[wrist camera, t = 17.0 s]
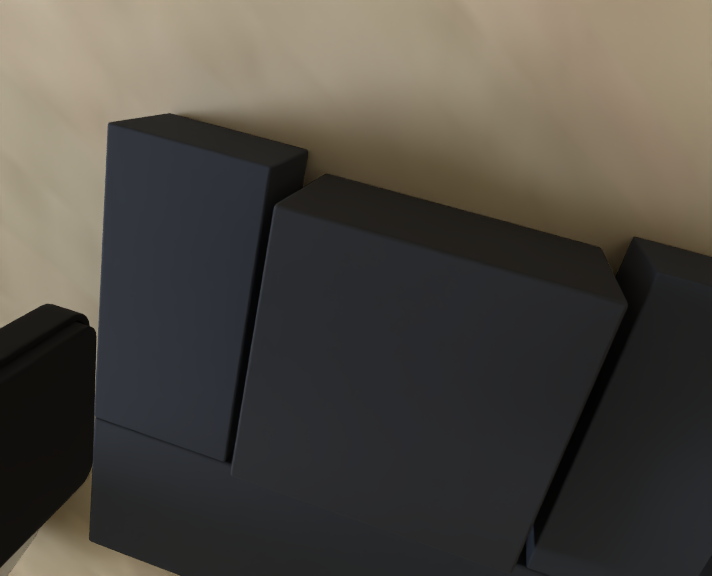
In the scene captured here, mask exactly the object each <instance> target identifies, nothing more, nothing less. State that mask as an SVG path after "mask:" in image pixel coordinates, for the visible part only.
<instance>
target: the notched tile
mask: <svg viewBox="0 0 712 576" xmlns="http://www.w3.org/2000/svg"><path fill="white" fill-rule="evenodd" d="M307 157H308V150H306V149H302V148H299V147H295V146H291V145H287V144H284V143H280V142H276V141H272V140H269V139H265V138H261V137H257V136H253V135H250V134H246V133H242V132H238V131H235V130H231V129H227V128H223V127H220V126H216V125H212V124H208V123H204V122H201V121H197V120H193V119H189V118H186V117H182V116H178V115H174V114H171V113H168V114H162V115H155V116H148V117H142V118H135V119H129V120H122V121H116V122H109V124H108V135H107V157H106V178H105V200H104V221H103V242H102V264H101V285H100V307H99V328H98V350H97V371H96V392H95V414H94V415H95V417H96V418H95V426H94V447H93V469H92V490H91V511H90V532H89V540H90V541H91V542H94V543H97V544H99V545H102V546H104V547H107V548H110V549H112V550H115V551H117V552H120V553H123V554H125V555H128V556H131V557H133V558H136V559H138V560H141V561H144V562H146V563H149V564H151V565H154V566H157V567H159V568H162V569H165V570H167V571H170V572H172V573H175V574H178V575H180V576H699V574H700V573H701V571H702V570H703V568H704V567H705V565H706V563H707V562H708V560H709V559H710V557H711V556H712V257H709V256H706V255H702V254H698V253H694V252H691V251H687V250H683V249H679V248H676V247H672V246H668V245H664V244H661V243H657V242H653V241H649V240H645V239H642V238H638V237H633V238H632V241H631V243H630V245H629V248H628V250H627V253H626V255H625V257H624V260H623V262H622V265H621V267H620V269H619V272H618V274H617V277H616V280H617V282H618V284H619V286H620V288H621V290H622V292H623V294H624V297H625V299H626V301H627V303H628V308H627V310H626V312H625V314H624V317H623V319H622V321H621V324H620V326H619V328H618V331H617V333H616V335H615V337H614V340H613V342H612V344H611V347H610V349H609V351H608V354H607V356H606V358H605V360H604V363H603V365H602V367H601V370H600V372H599V374H598V376H597V379H596V381H595V383H594V386H593V388H592V390H591V393H590V395H589V397H588V399H587V402H586V404H585V406H584V409H583V411H582V413H581V416H580V418H579V420H578V422H577V425H576V427H575V429H574V432H573V434H572V436H571V439H570V441H569V443H568V445H567V448H566V450H565V452H564V455H563V457H562V459H561V462H560V464H559V466H558V468H557V471H556V473H555V475H554V478H553V480H552V482H551V485H550V487H549V489H548V491H547V494H546V496H545V498H544V501H543V503H542V505H541V508H540V510H539V512H538V514H537V517H536V519H535V521H534V524H533V526H532V528H531V531H530V533H529V535H528V537H527V540H526V542H525V544H524V547H523V549H522V551H521V553H520V556H519V558H518V560H517V563H516V565H515V567H514V570H513V572H512V573H511V574H508V573H505V572H502V571H499V570H496V569H493V568H490V567H488V566H485V565H482V564H479V563H476V562H473V561H471V560H468V559H465V558H462V557H459V556H456V555H454V554H451V553H448V552H445V551H442V550H439V549H437V548H434V547H431V546H428V545H425V544H422V543H420V542H417V541H414V540H411V539H408V538H405V537H403V536H400V535H397V534H394V533H391V532H388V531H386V530H383V529H380V528H377V527H374V526H371V525H369V524H366V523H363V522H360V521H357V520H354V519H352V518H349V517H346V516H343V515H340V514H337V513H335V512H332V511H329V510H326V509H323V508H320V507H318V506H315V505H312V504H309V503H306V502H303V501H301V500H298V499H295V498H292V497H289V496H286V495H284V494H281V493H278V492H275V491H272V490H269V489H267V488H264V487H261V486H258V485H255V484H252V483H250V482H247V481H244V480H241V479H238V478H235V477H233V476H231V467H232V460H233V454H234V448H235V442H236V436H237V430H238V424H239V418H240V412H241V406H242V399H243V393H244V387H245V381H246V375H247V369H248V363H249V357H250V351H251V344H252V338H253V332H254V326H255V320H256V314H257V308H258V302H259V296H260V289H261V283H262V277H263V271H264V265H265V259H266V253H267V247H268V241H269V234H270V228H271V222H272V216H273V210H274V206H275V205H276V204H277V203H279V202H280V201H282V200H284V199H285V198H287V197H288V196H290V195H292V194H293V193H295V192H297V191H298V190H300V189H302V185H303V179H304V174H305V168H306V163H307Z"/></svg>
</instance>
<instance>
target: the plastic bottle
mask: <svg viewBox="0 0 712 576" xmlns="http://www.w3.org/2000/svg"><path fill="white" fill-rule="evenodd" d="M37 532H38V530H37V531H36V532H35V533H34V534H33V535H32V536H31V537H30V538H29V539H28V540H27V541H26V542H25V543H24V545H23V546H22V547H21V548H20V549H19V550H18V551H17V552H16V553H15V554H14V555H13V556H12V557H11V558H10V559H9V560H8V561H7V562H6V563H5V564H4V565H3V566H2V567H1V568H0V576H8V574H9V573H10V572H11V570H12V569H13V568H14V566H15V565H16V563H17V562H18V560H19V559H20V558H21V556H22V555H23V553H24V552H25V551H26V549H27V548H28V546H29V545H30V544H31V542H32V541H33V539H34V538H35V536H36V535H37Z"/></svg>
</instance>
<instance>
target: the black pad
mask: <svg viewBox="0 0 712 576" xmlns="http://www.w3.org/2000/svg"><path fill="white" fill-rule="evenodd" d="M627 308H628V303H627V301H626V299H625V297H624V294H623V292H622V290H621V288H620V286H619V284H618V282H617V280H616V278H615V276H614V274H613V272H612V270H611V268H610V266H609V264H608V261H607V259H606V257H605V255H604V253H603V251H602V249H601V248H600V247H597V246H593V245H589V244H586V243H582V242H578V241H574V240H571V239H567V238H563V237H560V236H556V235H552V234H549V233H545V232H541V231H537V230H534V229H530V228H526V227H523V226H519V225H515V224H512V223H508V222H504V221H500V220H497V219H493V218H489V217H486V216H482V215H478V214H475V213H471V212H467V211H463V210H460V209H456V208H452V207H449V206H445V205H441V204H438V203H434V202H430V201H426V200H423V199H419V198H415V197H412V196H408V195H404V194H401V193H397V192H393V191H390V190H386V189H382V188H378V187H375V186H371V185H367V184H364V183H360V182H356V181H353V180H349V179H345V178H341V177H338V176H334V175H330V174H325V175H323V176H322V177H320V178H318V179H317V180H315V181H313V182H312V183H310V184H308V185H307V186H305V187H303V188H302V189H300V190H298V191H297V192H295V193H293V194H292V195H290V196H288V197H287V198H285V199H284V200H282V201H280V202H279V203H277V204H276V205H275V206H274V210H273V216H272V222H271V228H270V234H269V241H268V247H267V253H266V259H265V265H264V271H263V277H262V283H261V289H260V296H259V302H258V308H257V314H256V320H255V326H254V332H253V338H252V344H251V351H250V357H249V363H248V369H247V375H246V381H245V387H244V393H243V399H242V406H241V412H240V418H239V424H238V430H237V436H236V442H235V448H234V454H233V460H232V467H231V476H233V477H235V478H238V479H241V480H244V481H247V482H250V483H252V484H255V485H258V486H261V487H264V488H267V489H269V490H272V491H275V492H278V493H281V494H284V495H286V496H289V497H292V498H295V499H298V500H301V501H303V502H306V503H309V504H312V505H315V506H318V507H320V508H323V509H326V510H329V511H332V512H335V513H337V514H340V515H343V516H346V517H349V518H352V519H354V520H357V521H360V522H363V523H366V524H369V525H371V526H374V527H377V528H380V529H383V530H386V531H388V532H391V533H394V534H397V535H400V536H403V537H405V538H408V539H411V540H414V541H417V542H420V543H422V544H425V545H428V546H431V547H434V548H437V549H439V550H442V551H445V552H448V553H451V554H454V555H456V556H459V557H462V558H465V559H468V560H471V561H473V562H476V563H479V564H482V565H485V566H488V567H490V568H493V569H496V570H499V571H502V572H505V573H508V574H511V573H512V572H513V570H514V567H515V565H516V563H517V560H518V558H519V556H520V553H521V551H522V549H523V547H524V544H525V542H526V540H527V537H528V535H529V533H530V531H531V528H532V526H533V524H534V521H535V519H536V517H537V514H538V512H539V510H540V508H541V505H542V503H543V501H544V498H545V496H546V494H547V491H548V489H549V487H550V485H551V482H552V480H553V478H554V475H555V473H556V471H557V468H558V466H559V464H560V462H561V459H562V457H563V455H564V452H565V450H566V448H567V445H568V443H569V441H570V439H571V436H572V434H573V432H574V429H575V427H576V425H577V422H578V420H579V418H580V416H581V413H582V411H583V409H584V406H585V404H586V402H587V399H588V397H589V395H590V393H591V390H592V388H593V386H594V383H595V381H596V379H597V376H598V374H599V372H600V370H601V367H602V365H603V363H604V360H605V358H606V356H607V354H608V351H609V349H610V347H611V344H612V342H613V340H614V337H615V335H616V333H617V331H618V328H619V326H620V324H621V321H622V319H623V317H624V314H625V312H626V310H627Z"/></svg>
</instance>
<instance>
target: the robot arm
mask: <svg viewBox="0 0 712 576" xmlns="http://www.w3.org/2000/svg"><path fill="white" fill-rule="evenodd" d="M95 369H96V332H95V330H94V328H92V327H90V326H89V321H88V319H87V317H86V316H85V315H83V314H81V313H78V312H75V311H72V310H69V309H66V308H63V307H59V306H56V305H53V304H45V305H42V306H40V307H38V308H36V309H35V310H33V311H31V312H29V313H27V314H26V315H24V316H22V317H20V318H18V319H17V320H15V321H13V322H11V323H9V324H7V325H6V326H4V327H2V328H0V568H1V567H2V566H3V565H4V564H5V563H6V562H7V561H8V560H9V559H10V558H11V557H12V556H13V555H14V554H15V553H16V552H17V551H18V550H19V549H20V548H21V547H22V546H23V545H24V543H25V542H26V541H27V540H28V539H29V538H30V537H31V536H32V535H33V534H34V533H35V532H36V531H37V530H38V529H39V528H40V527H41V526H42V525H43V524H44V523H45V522H46V521H47V520H48V519H49V518H50V517H51V516H52V515H53V514H54V513H55V512H56V511H57V510H58V509H59V508H60V507H61V506H62V505H63V504H64V503H65V502H66V501H67V500H68V499H69V498H70V497H71V496H72V495H73V494H74V493H75V492H76V491H77V490H78V488H79V487H80V486H81V485H82V484H83V483H84V482H85V480H86V479H87V477H88V475H89V473H90V471H91V468H92V463H93V441H94V405H95ZM699 576H712V556H711V557H710V559H709V560H708V562H707V563H706V565H705V567H704V568H703V570H702V571H701V573H700V574H699Z"/></svg>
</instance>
